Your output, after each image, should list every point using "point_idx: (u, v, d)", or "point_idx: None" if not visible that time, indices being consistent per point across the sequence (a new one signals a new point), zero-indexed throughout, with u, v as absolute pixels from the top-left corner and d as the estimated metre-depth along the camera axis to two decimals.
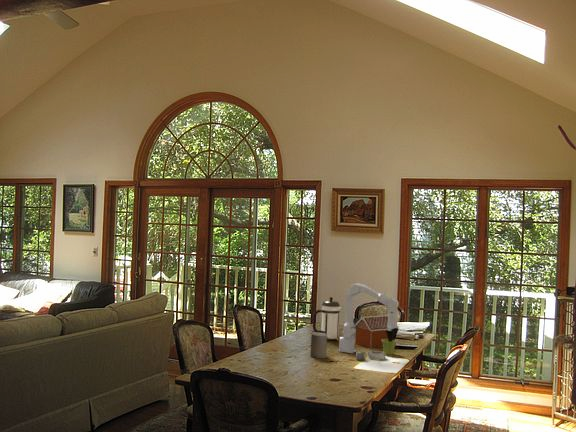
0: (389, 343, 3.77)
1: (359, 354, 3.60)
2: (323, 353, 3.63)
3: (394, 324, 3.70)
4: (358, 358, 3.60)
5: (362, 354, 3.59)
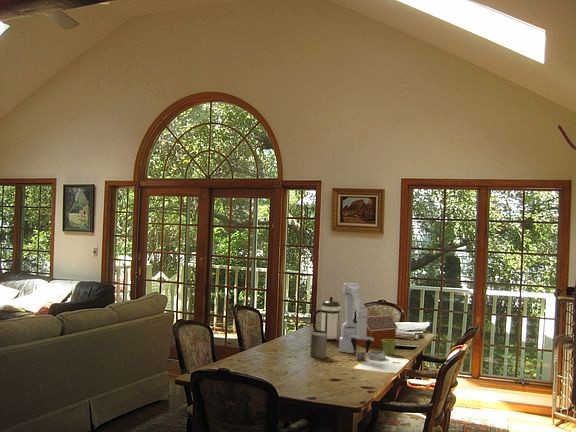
0: (389, 343, 3.77)
1: (359, 354, 3.60)
2: (323, 353, 3.63)
3: (357, 334, 3.61)
4: (358, 358, 3.60)
5: (362, 354, 3.59)
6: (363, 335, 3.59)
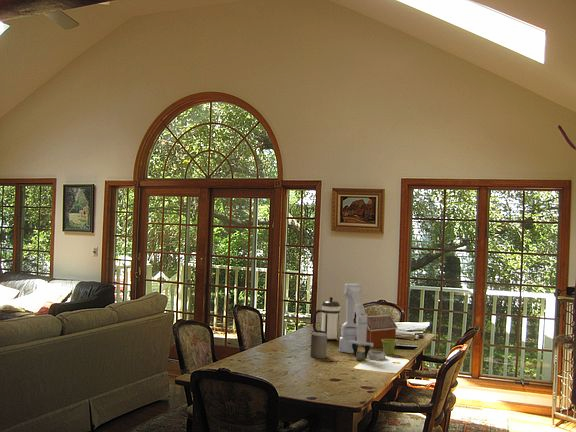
0: (389, 343, 3.77)
1: (359, 354, 3.60)
2: (323, 353, 3.63)
3: (357, 339, 3.61)
4: (358, 358, 3.60)
5: (362, 354, 3.59)
6: (363, 341, 3.59)
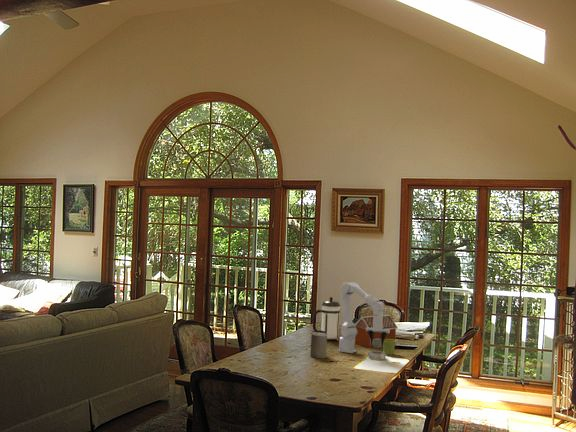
0: (389, 343, 3.77)
1: (375, 341, 3.66)
2: (323, 353, 3.63)
3: (373, 326, 3.67)
4: (374, 345, 3.66)
5: (378, 341, 3.65)
6: (379, 327, 3.65)
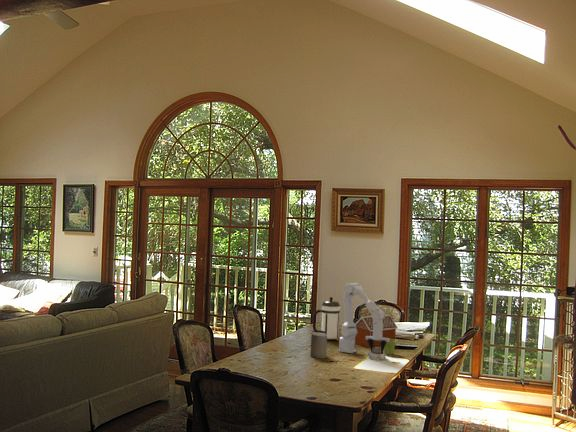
0: (389, 343, 3.77)
1: (375, 349, 3.66)
2: (323, 353, 3.63)
3: (373, 335, 3.67)
4: None
5: (378, 349, 3.65)
6: (379, 336, 3.65)
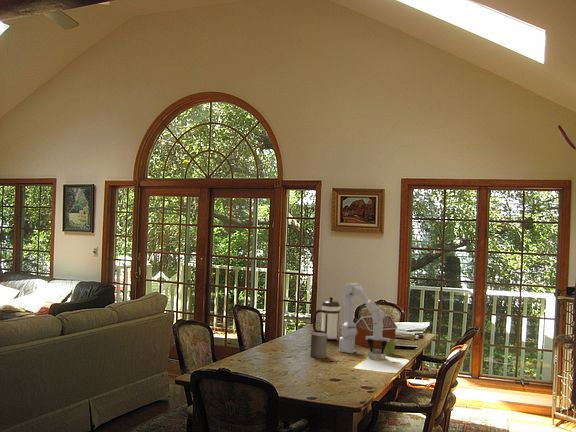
0: (389, 343, 3.77)
1: (375, 352, 3.65)
2: (323, 353, 3.63)
3: (373, 335, 3.67)
4: None
5: (378, 352, 3.65)
6: (379, 336, 3.65)
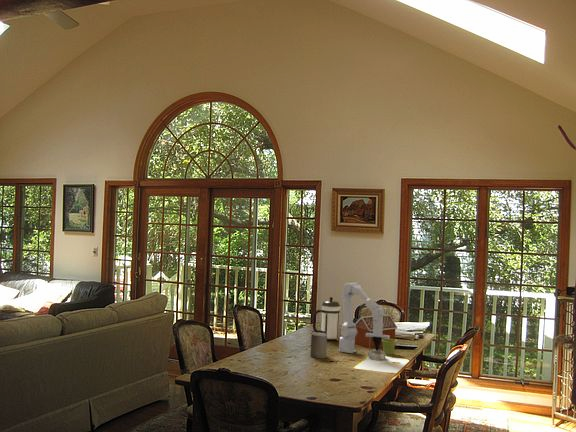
0: (389, 343, 3.77)
1: (375, 352, 3.65)
2: (323, 353, 3.63)
3: (373, 332, 3.67)
4: None
5: (378, 352, 3.65)
6: (379, 333, 3.65)
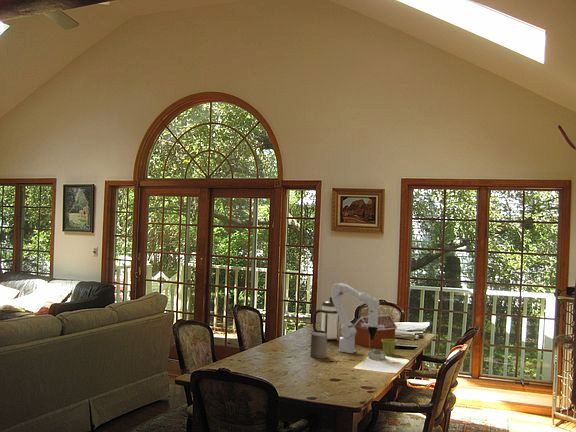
0: (389, 343, 3.77)
1: (375, 352, 3.65)
2: (323, 353, 3.63)
3: (368, 322, 3.75)
4: None
5: (378, 352, 3.65)
6: (374, 323, 3.73)
